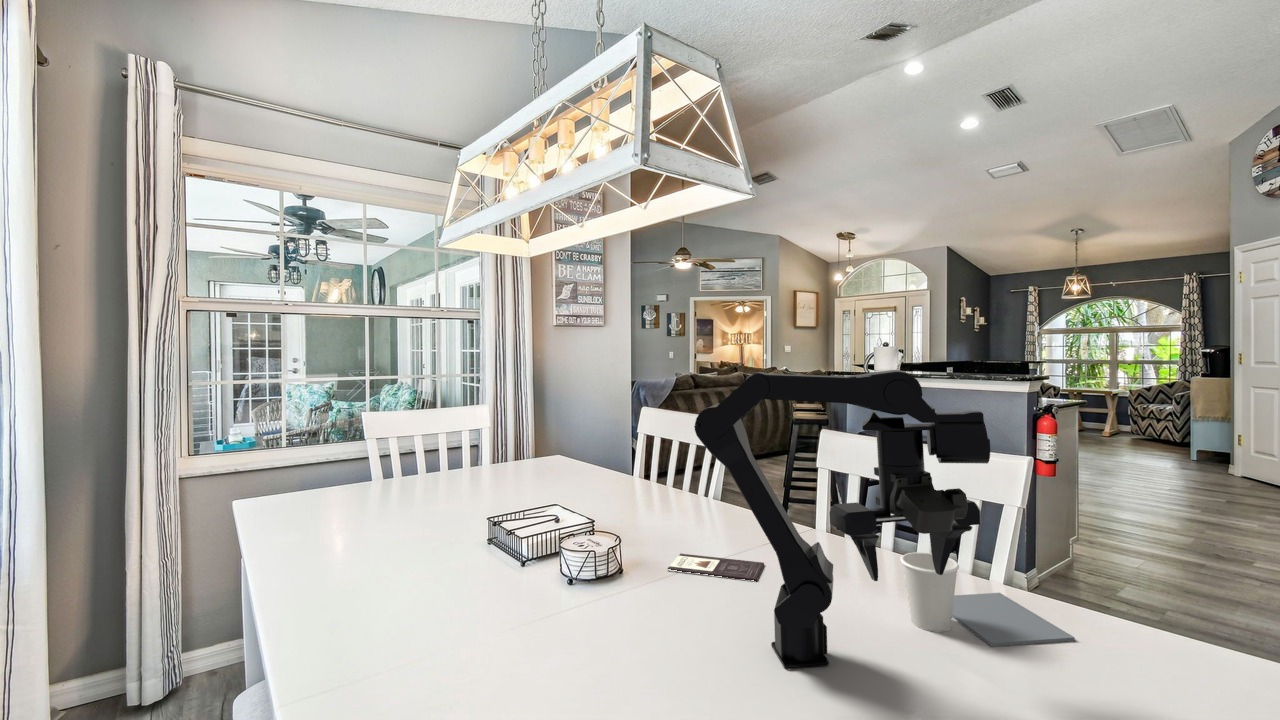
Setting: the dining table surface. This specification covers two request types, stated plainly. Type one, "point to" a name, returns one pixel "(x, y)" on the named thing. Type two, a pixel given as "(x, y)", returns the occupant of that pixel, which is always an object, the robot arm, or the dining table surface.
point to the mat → (1004, 621)
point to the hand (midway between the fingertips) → (907, 577)
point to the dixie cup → (929, 591)
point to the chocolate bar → (717, 566)
